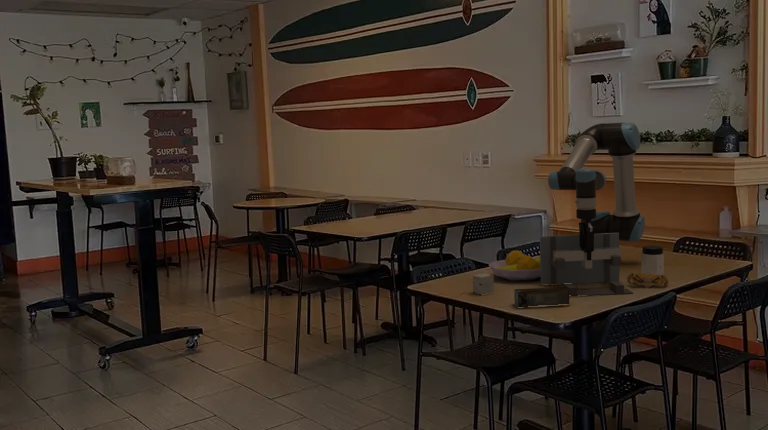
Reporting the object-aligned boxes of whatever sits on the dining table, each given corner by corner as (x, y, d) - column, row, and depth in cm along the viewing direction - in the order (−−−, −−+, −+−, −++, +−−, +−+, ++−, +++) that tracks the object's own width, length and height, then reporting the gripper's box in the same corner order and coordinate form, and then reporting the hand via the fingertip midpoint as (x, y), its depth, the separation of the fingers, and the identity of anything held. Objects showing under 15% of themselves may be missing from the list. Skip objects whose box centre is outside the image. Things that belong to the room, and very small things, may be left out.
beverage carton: (513, 304, 285) (513, 286, 285) (565, 301, 286) (564, 284, 285) (518, 309, 277) (517, 291, 277) (570, 307, 278) (570, 289, 277)
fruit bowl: (483, 283, 322) (482, 256, 321) (498, 270, 347) (497, 245, 346) (550, 285, 312) (550, 258, 311) (561, 272, 337) (560, 247, 335)
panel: (540, 284, 314) (539, 236, 312) (618, 280, 315) (618, 232, 313) (548, 292, 301) (547, 241, 298) (629, 288, 301) (629, 237, 299)
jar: (654, 278, 317) (654, 249, 315) (637, 275, 324) (637, 247, 322) (667, 275, 322) (667, 246, 320) (651, 272, 329) (651, 244, 327)
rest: (555, 293, 298) (555, 284, 298) (626, 289, 299) (626, 280, 299) (559, 297, 292) (559, 288, 291) (633, 293, 292) (633, 284, 292)
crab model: (664, 282, 310) (664, 269, 310) (670, 289, 298) (670, 275, 297) (624, 282, 313) (624, 269, 312) (628, 289, 300) (628, 275, 300)
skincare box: (472, 293, 306) (472, 274, 305) (485, 290, 308) (484, 272, 308) (481, 295, 300) (481, 277, 299) (494, 293, 303) (493, 275, 302)
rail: (553, 260, 304) (552, 250, 304) (618, 256, 305) (618, 246, 304) (555, 261, 301) (555, 251, 300) (621, 258, 301) (620, 248, 301)
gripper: (570, 206, 308) (571, 263, 311) (582, 211, 292) (583, 271, 295) (589, 205, 309) (590, 262, 312) (602, 210, 292) (602, 270, 295)
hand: (586, 267), depth 303 cm, fingers closed on rail, 3 cm apart
